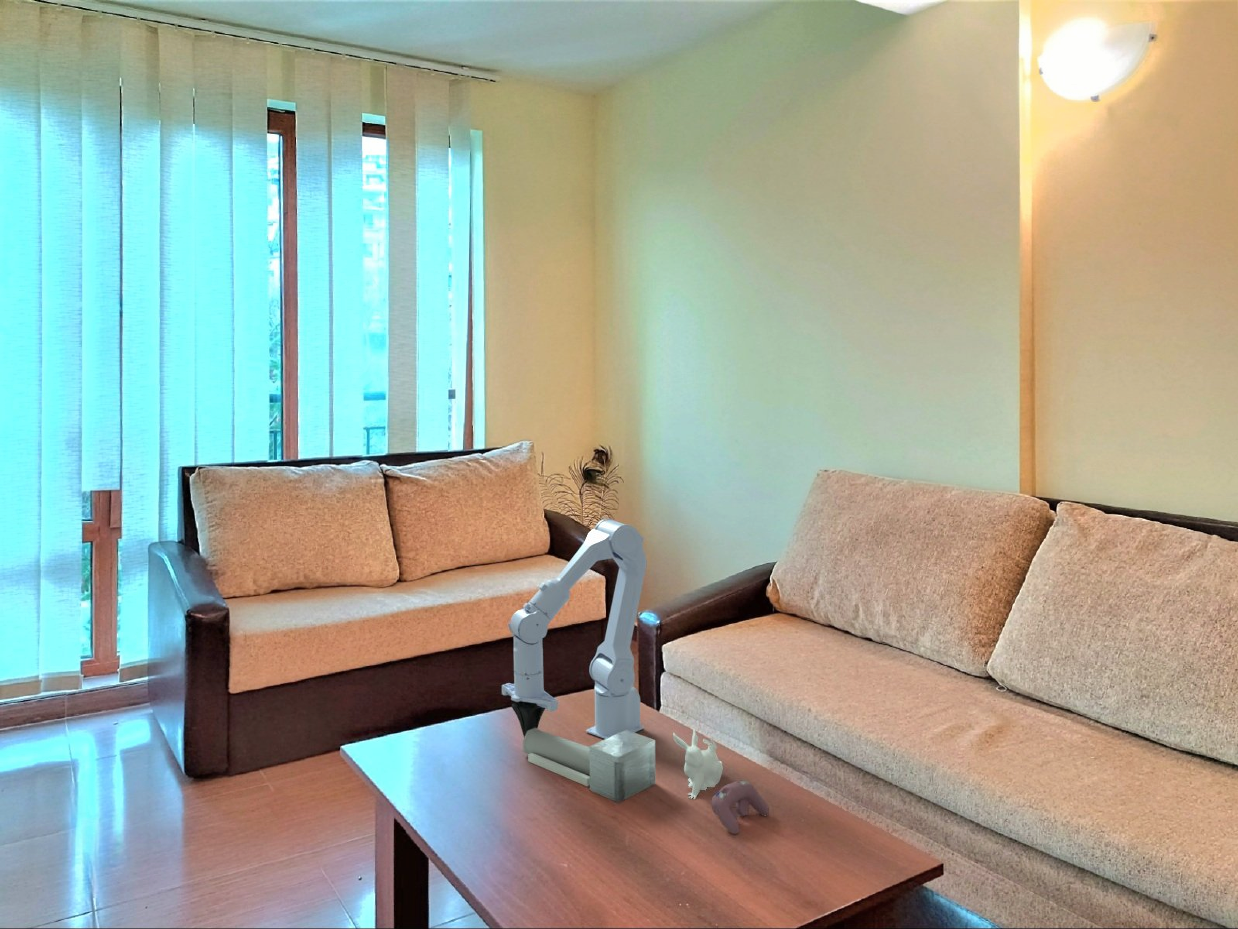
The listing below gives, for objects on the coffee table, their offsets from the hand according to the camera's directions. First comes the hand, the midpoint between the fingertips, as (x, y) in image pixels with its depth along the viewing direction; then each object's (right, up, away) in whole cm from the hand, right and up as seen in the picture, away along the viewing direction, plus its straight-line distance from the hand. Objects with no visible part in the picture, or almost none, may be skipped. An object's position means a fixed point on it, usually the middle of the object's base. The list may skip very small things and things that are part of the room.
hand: (529, 737), depth 178 cm
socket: (+18, -4, -17) cm, 25 cm away
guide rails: (+9, -3, -8) cm, 12 cm away
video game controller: (+38, -5, -29) cm, 48 cm away
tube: (+10, -4, -9) cm, 14 cm away
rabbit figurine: (+32, -4, -15) cm, 35 cm away
